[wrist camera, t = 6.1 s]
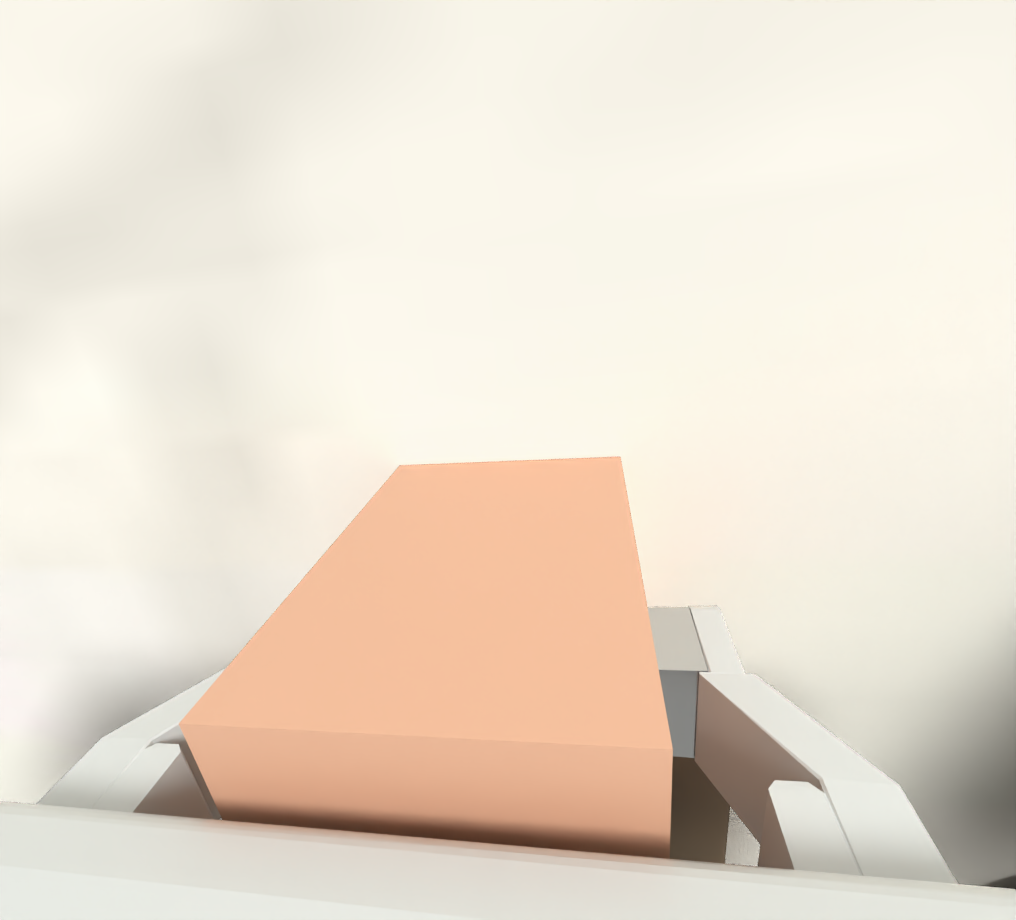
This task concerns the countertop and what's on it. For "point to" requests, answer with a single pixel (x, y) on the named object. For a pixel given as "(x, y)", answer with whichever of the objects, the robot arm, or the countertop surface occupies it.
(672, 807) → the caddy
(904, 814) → the robot arm
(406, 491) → the block
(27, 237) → the countertop surface
